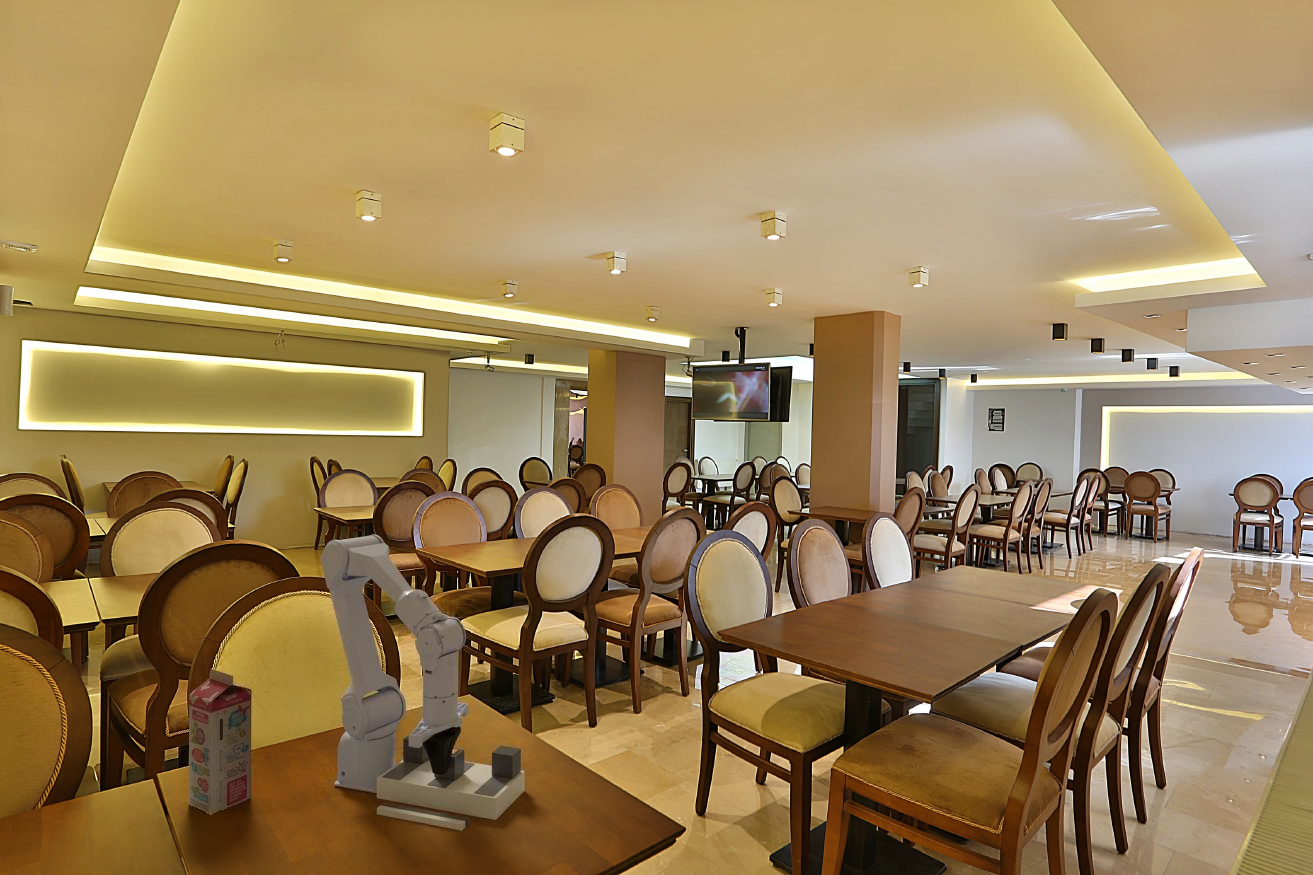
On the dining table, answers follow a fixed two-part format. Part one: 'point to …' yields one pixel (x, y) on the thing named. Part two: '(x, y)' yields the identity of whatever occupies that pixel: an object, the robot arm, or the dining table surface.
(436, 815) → the long grey stick
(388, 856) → the dining table surface
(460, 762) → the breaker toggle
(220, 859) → the dining table surface
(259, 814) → the dining table surface
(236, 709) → the juice carton
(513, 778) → the white panel with blocks
